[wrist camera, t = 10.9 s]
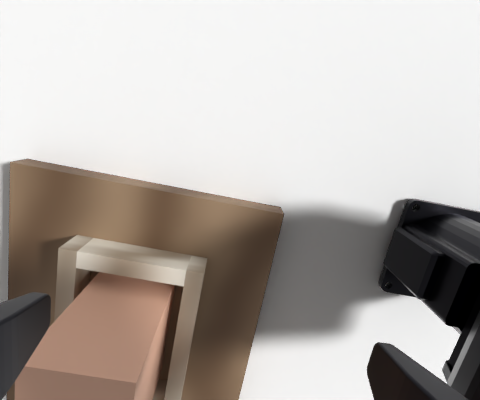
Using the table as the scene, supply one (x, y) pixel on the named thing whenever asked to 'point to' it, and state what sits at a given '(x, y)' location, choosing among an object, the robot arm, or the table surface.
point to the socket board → (149, 262)
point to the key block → (102, 344)
